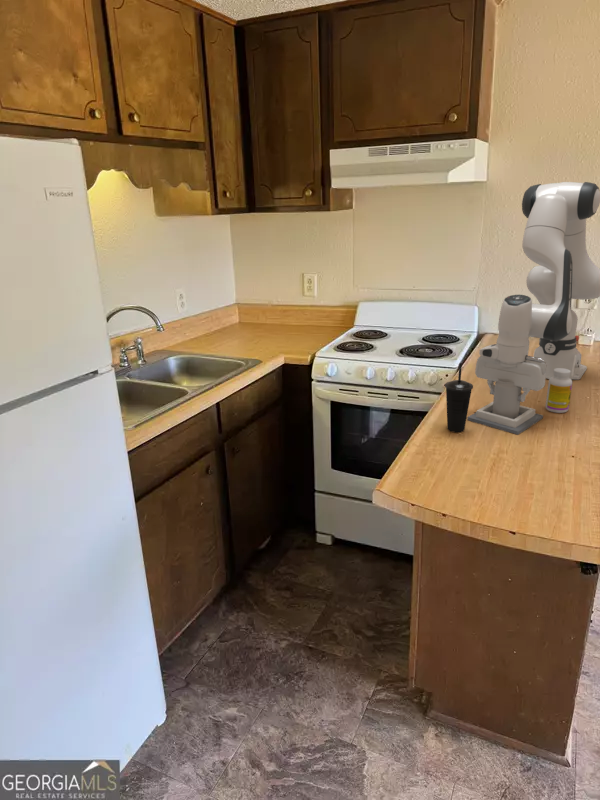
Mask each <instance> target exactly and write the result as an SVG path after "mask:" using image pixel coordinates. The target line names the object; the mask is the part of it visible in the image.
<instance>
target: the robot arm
mask: <svg viewBox="0 0 600 800" xmlns="http://www.w3.org/2000/svg"><path fill="white" fill-rule="evenodd" d="M523 193H524V194H523V196H522V199H521V212H522V214H523V216H524V217H526V219H527V220H526V224H525V228H524V233H523V238H522V250H523V253H524V254H525V256H526V257H527V258H528V259H529V260H530V261H532V262H534V263H535V264H537V265H536V266H534V267H532V269H530V271H529V272H528V274H527V276H526V281H525V282H526V283H525V284H526V287H527V289H528V292H530V294H532V295H533V296H534V297H535V298H536V300H537V301H538V303H533V302H532V301H533V300H532V298H531V297H530V296H528V295H525V294H513V295H508V296H506V297H504V299H503V300H502V304H501V308H500V311H499V317H498V323H497V328H498V329H497V330H498V336H497V338H496V343H494V344H490V345H486V346H484V347H482V348H480V349H479V352H478V353H479V356H478V358H477V360H476V363H475V372H474V374H475V375H476V376H475V377H477V378H480V379H483V380H487V381H486V383H487V385H488V388H489V389H490V390H489V394H490V395H493V396H494V390H495V382H497V381H498V379H500V380H501V381H504V382H514V385H515V386H517V387H522V390H521V392H522V393H521V394H520V395H518V401H520V403H524V402H526V396H527V395H528V394H529V393H530V392H531V390H532V391H535V392H538V391H540V390H542V389H544V387H545V386H546V379H548V380H549V379H550V378H551V377H553V376H554V374H553V372H554V369H556V368H564V369H568V370H570V371H571V372H570V376H569V378H570V379H571V380H581V378H582V376H583V375H584V374H585V372H586V371H587V369H588V366H587V365H585V364H582V353H581V352H580V351H579V350H578V348H577V343H578V341H579V339H580V337H579V335H576V334H577V327H578V321H579V318H578V315H577V313H576V312H575V311H574V310H573V309H572V300H579V301H580V300H582V301H583V300H584V301H586V300H596V299H598V298H600V267H598V266H597V265H596V264H595V263H594V262H593V261H592V259H591V258H590V255H589V254H588V251H587V244H586V243H587V241H586V240H587V239H586V237H587V236H586V233H587V232H586V231H587V229H586V228H587V219H589V218H591V217H593V216H594V215H595V214H596V213H597V211H598V208H599V207H600V187H599V186H598V185H597V184H596V183H594V182H588V181H584V182H576V181H575V182H574V181H561V182H553V183H552V182H551V183H545V184H541V183H538V184H533V185H530V186H529V187H528V188H527V189H526V190H525V191H524V192H523ZM530 337H531V338H538V339H539V341H538V345H539V346H538V347H536V348H535V349H534V352H533V356H531V355H529V349H530Z"/></svg>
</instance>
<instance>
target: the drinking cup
mask: <svg viewBox="0 0 600 800" xmlns="http://www.w3.org/2000/svg"><path fill="white" fill-rule="evenodd" d="M462 367H463V364H462V362H460V363H459V364H458V377H457V379H453V380H450V381H447V382H446V383H444V387H445V393H446V395H445V397H446V427H447V431H449V432H452V433H462V432H464V431H465V428H466V423H467V417H468V412H469V407H470V401H471V395H472V390H473V389H474V385H473V384H472V383H471V382H468V381H467V380H463V379H462Z"/></svg>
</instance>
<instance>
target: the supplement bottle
mask: <svg viewBox="0 0 600 800" xmlns="http://www.w3.org/2000/svg"><path fill="white" fill-rule="evenodd" d="M570 372H571V371H570V370H568V369H564V368H556V369H554V372H553V374H554V376H553V377H551V378H550V379H548V383H547V384H548V385H547V393H546V399H545V400H546V401H545V409H546V410H547V411H548V412H550V413H551V412H552V413H555V414H556V413H557V414H561V413H562V414H565V413H567V412H568V411H569V410H570V403H571V395H572V388H573V379H570V378H569V376H570Z"/></svg>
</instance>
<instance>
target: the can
mask: <svg viewBox="0 0 600 800" xmlns="http://www.w3.org/2000/svg"><path fill="white" fill-rule="evenodd" d="M494 386H495V390H494V395H493V401H492V402H493V411H492V413H493V414H497V415H500V416H504V417H508V418H511V419H515V418H516V417H518V415H519V407H520V405H521V402H520V401H518V395H520V394H522V390H523V388H522V387H517V386H515V385H514V382H504V381H501V380H500V379H498V381H497V382H494Z"/></svg>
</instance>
